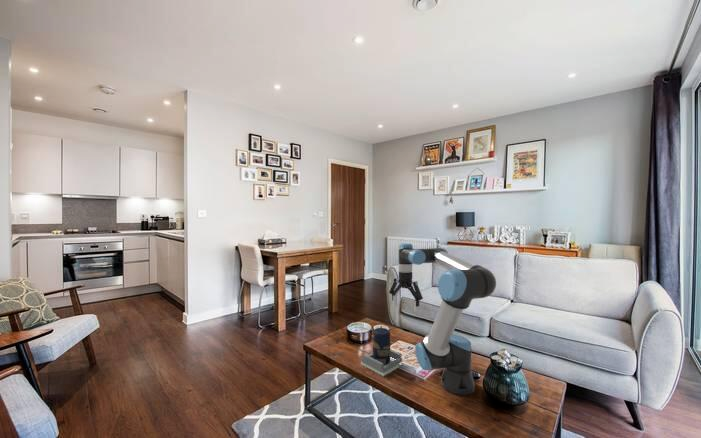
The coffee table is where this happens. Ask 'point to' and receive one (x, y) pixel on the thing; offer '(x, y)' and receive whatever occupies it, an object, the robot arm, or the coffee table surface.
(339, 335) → the coffee table surface
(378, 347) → the canister
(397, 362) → the grey square tray
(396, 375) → the coffee table surface
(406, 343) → the coffee table surface
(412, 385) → the coffee table surface
